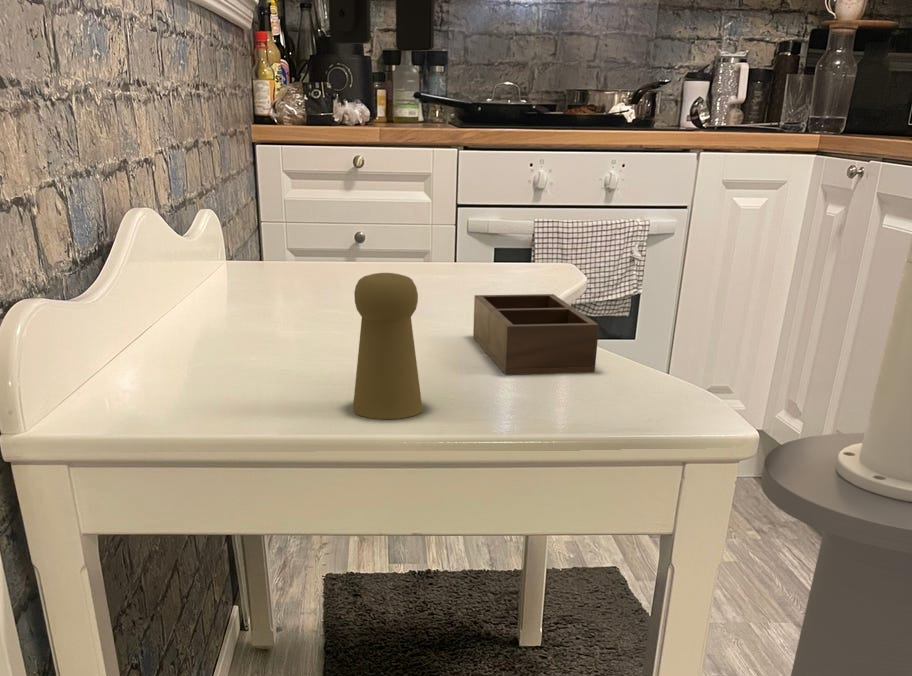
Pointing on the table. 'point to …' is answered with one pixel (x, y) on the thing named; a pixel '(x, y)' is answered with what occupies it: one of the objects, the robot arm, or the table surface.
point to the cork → (386, 348)
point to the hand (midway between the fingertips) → (384, 47)
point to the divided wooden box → (535, 334)
